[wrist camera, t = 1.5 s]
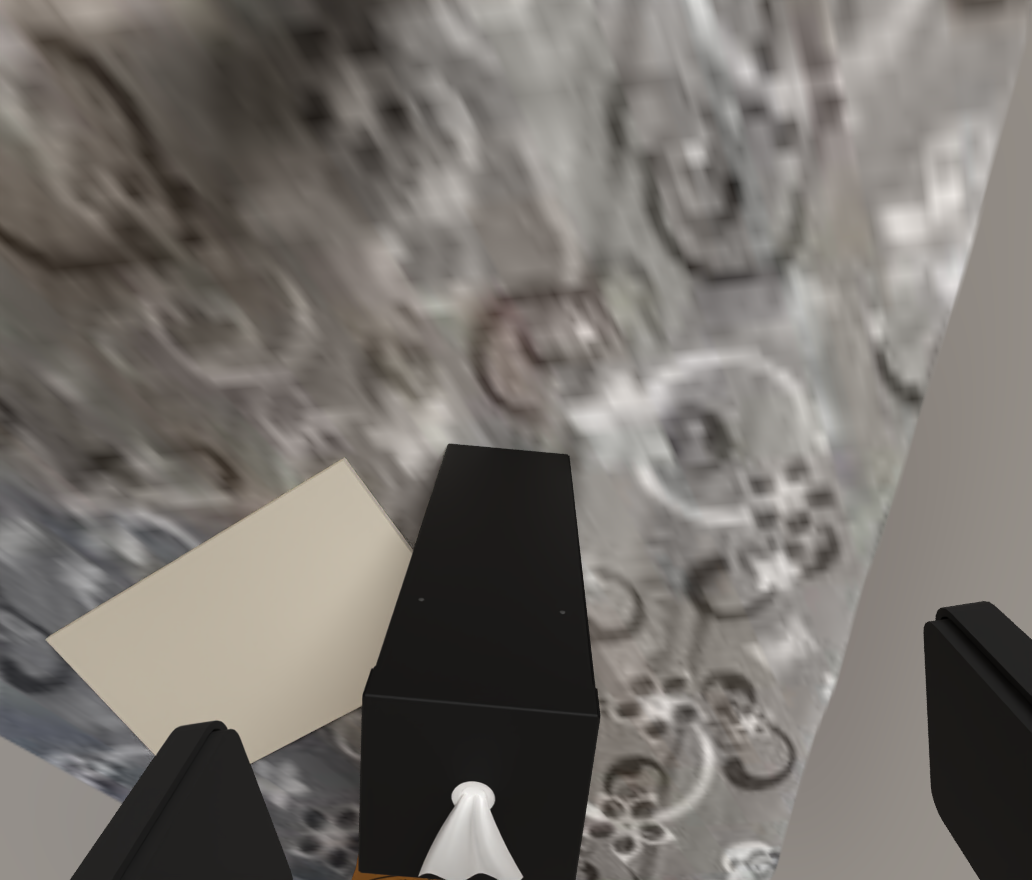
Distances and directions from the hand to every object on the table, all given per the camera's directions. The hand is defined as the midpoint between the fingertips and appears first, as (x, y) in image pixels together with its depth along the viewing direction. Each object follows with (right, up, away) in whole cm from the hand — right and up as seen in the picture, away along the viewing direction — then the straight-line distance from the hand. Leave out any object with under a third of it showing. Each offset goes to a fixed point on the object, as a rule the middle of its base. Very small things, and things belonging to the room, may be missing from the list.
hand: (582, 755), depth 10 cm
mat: (-19, -10, +43) cm, 48 cm away
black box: (-2, 0, +39) cm, 39 cm away
